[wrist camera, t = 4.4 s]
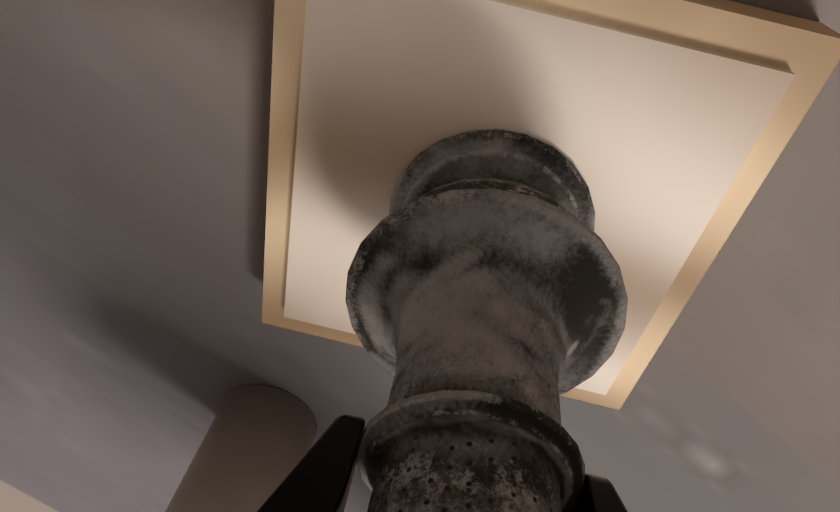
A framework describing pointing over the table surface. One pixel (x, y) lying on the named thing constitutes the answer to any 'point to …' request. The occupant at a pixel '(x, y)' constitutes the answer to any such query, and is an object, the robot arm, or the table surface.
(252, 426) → the pepper shaker
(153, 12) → the table surface
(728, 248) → the table surface
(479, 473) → the salt shaker
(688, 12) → the maple picture frame
